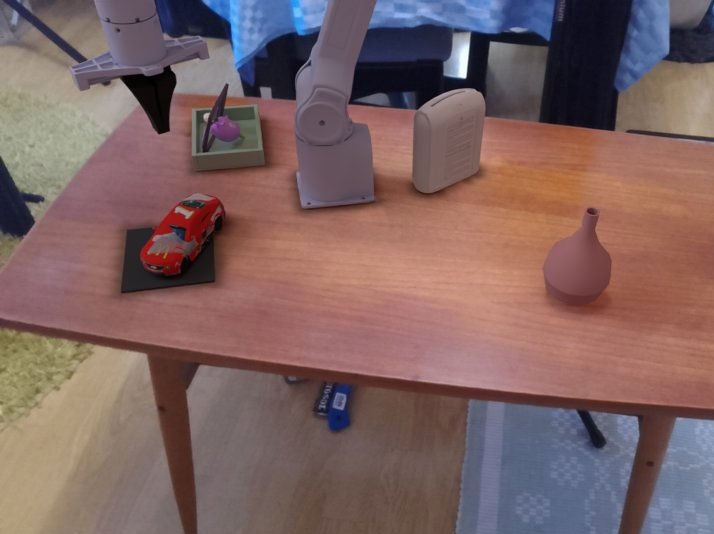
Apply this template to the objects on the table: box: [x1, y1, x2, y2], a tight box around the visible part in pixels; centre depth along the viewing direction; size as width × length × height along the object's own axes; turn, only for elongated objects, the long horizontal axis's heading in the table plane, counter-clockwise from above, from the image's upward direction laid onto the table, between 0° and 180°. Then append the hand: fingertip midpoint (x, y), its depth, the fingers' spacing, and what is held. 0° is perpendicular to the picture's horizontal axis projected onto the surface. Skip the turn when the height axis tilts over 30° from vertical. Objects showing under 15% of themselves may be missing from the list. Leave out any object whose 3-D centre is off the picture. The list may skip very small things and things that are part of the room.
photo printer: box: [411, 87, 487, 194], centre depth 89 cm, size 10×4×12 cm, turn 131°
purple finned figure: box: [202, 82, 245, 153], centre depth 94 cm, size 7×5×9 cm
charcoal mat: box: [120, 226, 215, 294], centre depth 80 cm, size 10×11×1 cm
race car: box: [140, 192, 227, 276], centre depth 80 cm, size 13×5×4 cm, turn 163°
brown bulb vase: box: [542, 206, 613, 307], centre depth 75 cm, size 8×8×12 cm
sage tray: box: [191, 103, 266, 172], centre depth 96 cm, size 9×12×2 cm
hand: (161, 129), depth 81 cm, fingers closed
